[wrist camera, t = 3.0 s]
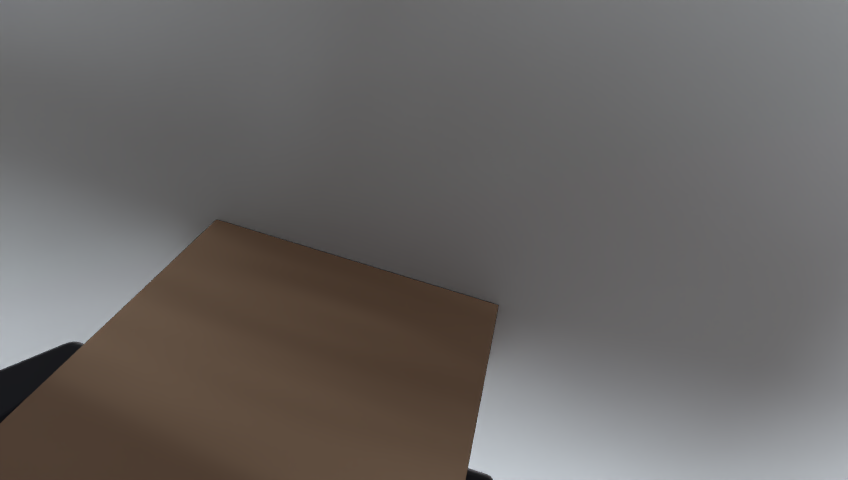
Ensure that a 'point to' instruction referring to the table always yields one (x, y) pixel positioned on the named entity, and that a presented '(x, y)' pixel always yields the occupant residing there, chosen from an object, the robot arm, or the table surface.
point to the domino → (263, 375)
